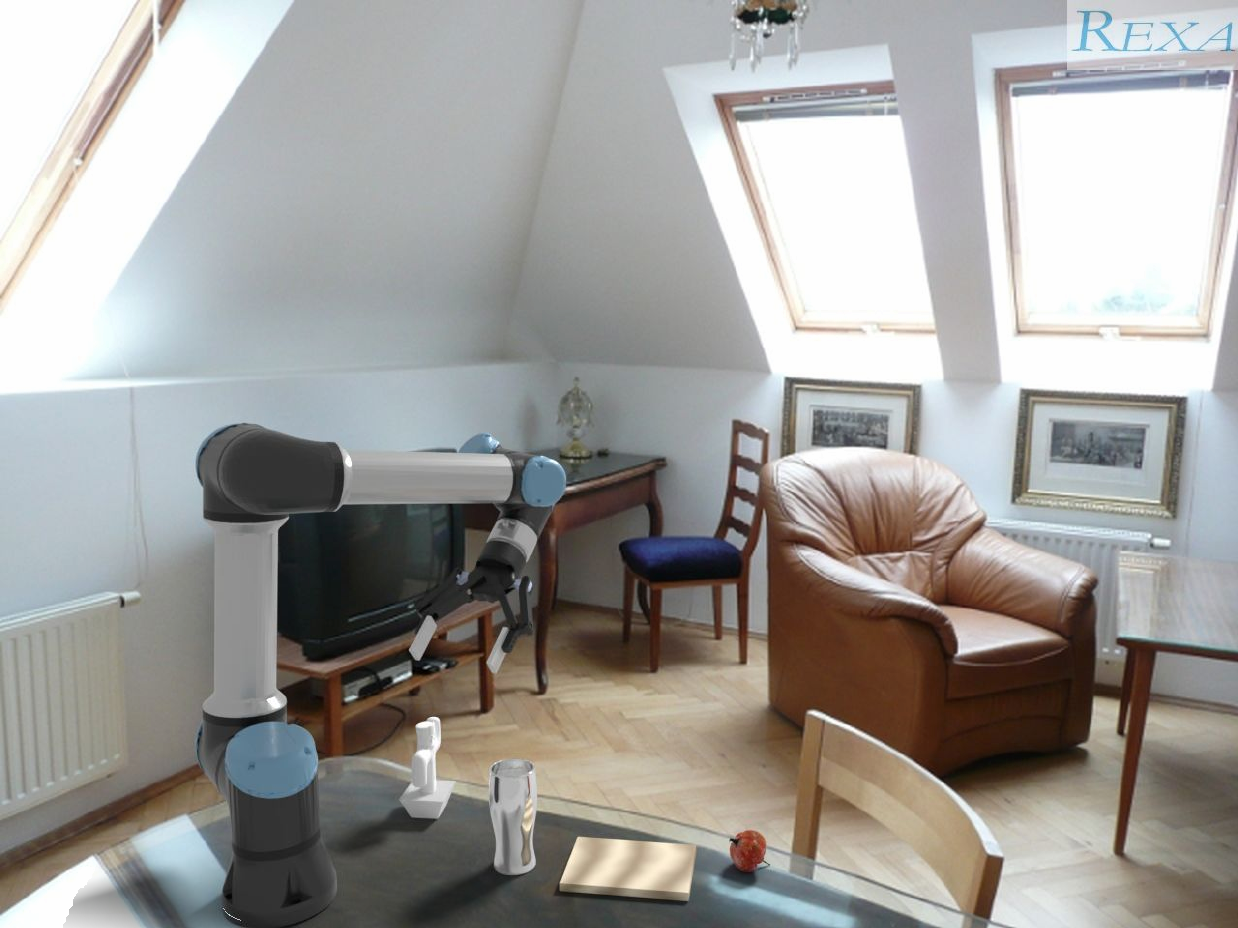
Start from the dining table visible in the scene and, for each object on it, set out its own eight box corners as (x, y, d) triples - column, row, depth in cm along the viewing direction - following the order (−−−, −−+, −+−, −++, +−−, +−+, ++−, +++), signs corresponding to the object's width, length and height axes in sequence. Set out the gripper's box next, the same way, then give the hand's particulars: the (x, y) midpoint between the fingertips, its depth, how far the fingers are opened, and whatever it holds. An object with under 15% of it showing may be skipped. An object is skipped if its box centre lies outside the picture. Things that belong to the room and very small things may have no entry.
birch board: (559, 890, 145) (559, 882, 145) (577, 843, 158) (577, 836, 157) (688, 900, 142) (688, 892, 142) (696, 852, 155) (696, 844, 155)
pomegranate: (756, 865, 154) (715, 838, 153) (780, 839, 153) (739, 811, 152) (760, 890, 149) (718, 862, 148) (785, 863, 147) (743, 835, 146)
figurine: (397, 824, 164) (393, 734, 162) (416, 796, 174) (413, 711, 171) (441, 826, 163) (438, 736, 161) (458, 799, 173) (455, 713, 170)
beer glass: (531, 879, 148) (528, 779, 146) (484, 874, 149) (481, 776, 147) (544, 854, 155) (542, 759, 152) (499, 850, 156) (496, 755, 154)
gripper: (433, 530, 172) (373, 636, 159) (568, 545, 162) (517, 659, 149) (448, 559, 177) (392, 663, 164) (581, 575, 167) (532, 687, 154)
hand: (451, 661), depth 156 cm, fingers open, 13 cm apart
